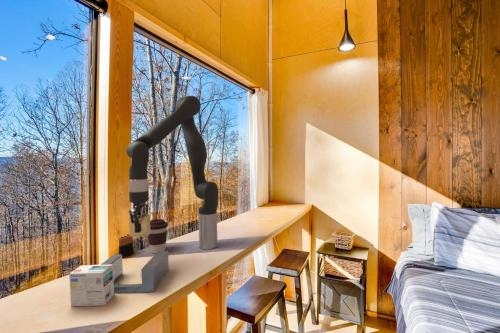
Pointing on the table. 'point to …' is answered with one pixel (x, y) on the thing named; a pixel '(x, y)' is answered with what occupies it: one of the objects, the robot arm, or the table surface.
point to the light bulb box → (91, 285)
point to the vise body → (148, 275)
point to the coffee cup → (157, 235)
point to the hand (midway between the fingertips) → (140, 230)
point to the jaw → (115, 265)
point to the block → (144, 226)
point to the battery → (126, 245)
